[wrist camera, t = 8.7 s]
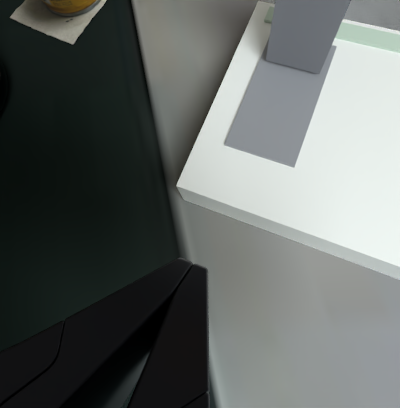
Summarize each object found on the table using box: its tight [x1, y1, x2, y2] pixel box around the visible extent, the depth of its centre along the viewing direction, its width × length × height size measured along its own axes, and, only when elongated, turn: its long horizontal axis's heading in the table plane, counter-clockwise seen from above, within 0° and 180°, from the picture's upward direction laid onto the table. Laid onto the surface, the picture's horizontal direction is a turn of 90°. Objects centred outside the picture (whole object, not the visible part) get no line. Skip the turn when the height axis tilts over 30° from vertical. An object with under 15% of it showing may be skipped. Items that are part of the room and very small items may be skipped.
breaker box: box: [176, 1, 400, 280], centre depth 18 cm, size 15×23×3 cm, turn 68°
